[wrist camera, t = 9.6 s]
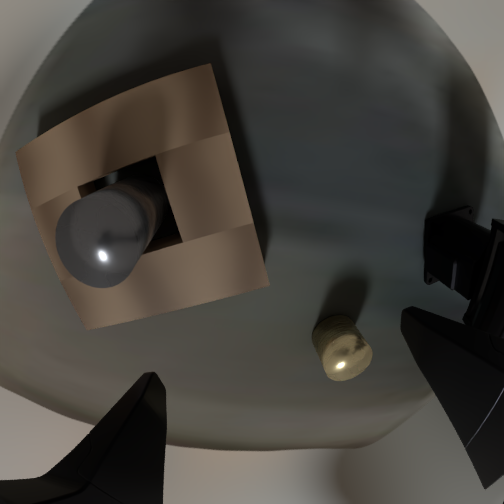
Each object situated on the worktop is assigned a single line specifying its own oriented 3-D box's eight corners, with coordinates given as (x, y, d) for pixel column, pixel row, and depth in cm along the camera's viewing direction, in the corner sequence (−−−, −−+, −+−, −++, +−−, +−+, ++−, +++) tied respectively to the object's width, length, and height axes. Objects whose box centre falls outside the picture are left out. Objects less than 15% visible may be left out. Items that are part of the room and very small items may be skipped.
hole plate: (211, 73, 15) (210, 63, 13) (264, 269, 20) (269, 285, 18) (34, 149, 15) (15, 152, 13) (97, 312, 20) (87, 330, 18)
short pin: (352, 308, 23) (372, 336, 19) (354, 342, 24) (371, 370, 21) (308, 323, 23) (323, 354, 19) (314, 356, 24) (327, 386, 21)
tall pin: (176, 222, 19) (151, 275, 11) (125, 239, 19) (78, 296, 11) (158, 166, 17) (116, 183, 10) (105, 186, 17) (43, 216, 10)
